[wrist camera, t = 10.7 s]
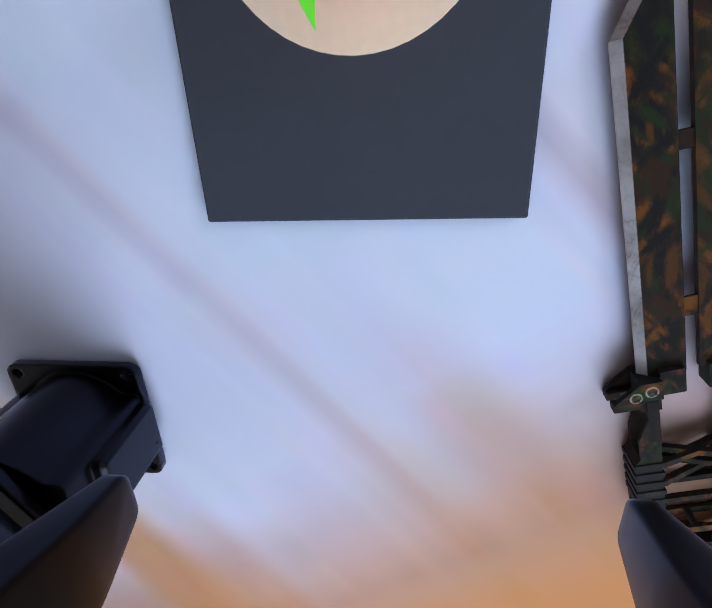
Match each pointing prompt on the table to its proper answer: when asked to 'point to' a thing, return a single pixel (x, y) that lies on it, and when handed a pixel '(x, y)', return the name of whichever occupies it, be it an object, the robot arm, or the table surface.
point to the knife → (662, 241)
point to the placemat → (363, 106)
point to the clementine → (309, 10)
